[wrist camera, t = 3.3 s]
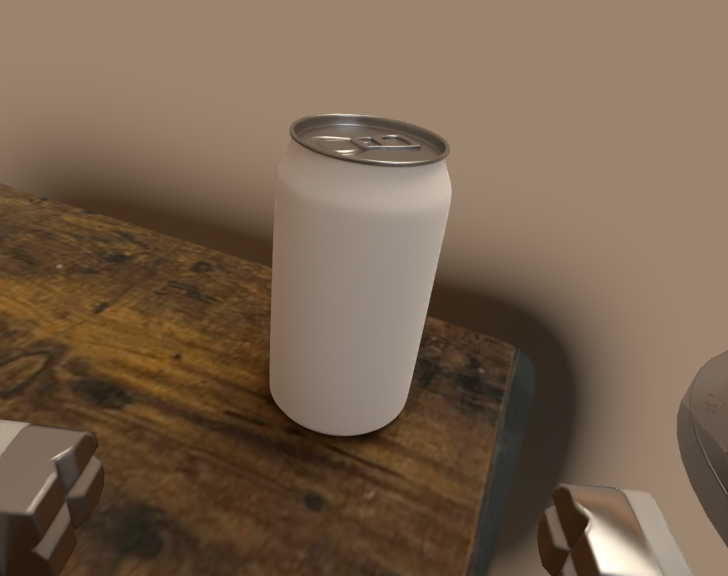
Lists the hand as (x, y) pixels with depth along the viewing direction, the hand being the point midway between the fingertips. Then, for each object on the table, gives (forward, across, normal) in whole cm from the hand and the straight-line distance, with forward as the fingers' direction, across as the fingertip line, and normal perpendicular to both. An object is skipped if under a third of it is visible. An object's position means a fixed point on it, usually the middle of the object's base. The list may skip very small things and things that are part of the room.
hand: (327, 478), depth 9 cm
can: (+12, 0, +9) cm, 15 cm away
